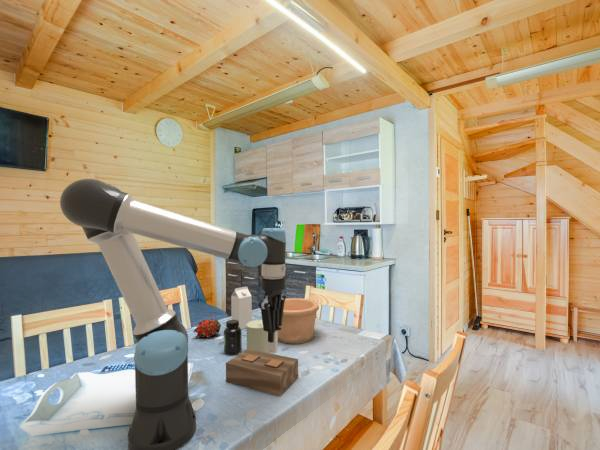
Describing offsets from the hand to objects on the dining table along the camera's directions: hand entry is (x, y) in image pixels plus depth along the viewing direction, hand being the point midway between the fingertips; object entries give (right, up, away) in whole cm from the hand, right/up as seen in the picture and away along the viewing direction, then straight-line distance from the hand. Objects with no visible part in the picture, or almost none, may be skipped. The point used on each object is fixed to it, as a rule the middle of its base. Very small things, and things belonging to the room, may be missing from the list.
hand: (272, 350), depth 99 cm
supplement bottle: (-18, -10, +24) cm, 31 cm away
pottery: (+6, -10, +39) cm, 40 cm away
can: (-7, -10, +22) cm, 25 cm away
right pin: (+1, -10, 0) cm, 10 cm away
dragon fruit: (-32, -10, +39) cm, 52 cm away
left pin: (-8, -10, +4) cm, 13 cm away
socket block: (-4, -10, +2) cm, 11 cm away
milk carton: (-20, -10, +52) cm, 56 cm away
